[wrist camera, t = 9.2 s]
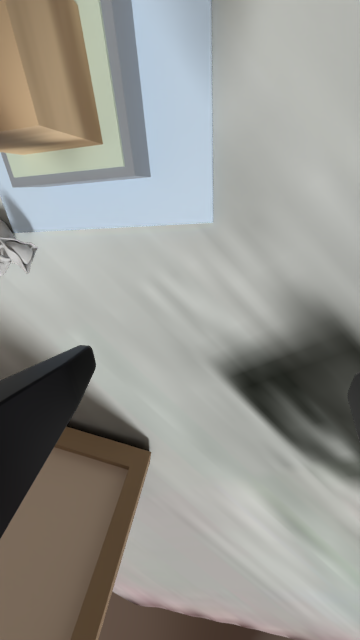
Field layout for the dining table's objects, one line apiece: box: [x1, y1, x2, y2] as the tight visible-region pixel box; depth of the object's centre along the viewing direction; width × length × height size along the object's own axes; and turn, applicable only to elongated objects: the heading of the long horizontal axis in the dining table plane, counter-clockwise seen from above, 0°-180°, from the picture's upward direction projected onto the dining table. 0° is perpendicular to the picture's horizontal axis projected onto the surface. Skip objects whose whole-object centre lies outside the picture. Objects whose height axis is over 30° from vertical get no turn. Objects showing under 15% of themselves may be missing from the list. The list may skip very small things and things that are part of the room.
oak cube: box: [0, 0, 103, 155], centre depth 10 cm, size 5×5×5 cm
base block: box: [1, 0, 151, 188], centre depth 14 cm, size 8×8×3 cm
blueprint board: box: [0, 0, 213, 233], centre depth 16 cm, size 16×14×1 cm
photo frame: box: [0, 427, 151, 640], centre depth 25 cm, size 15×22×25 cm
